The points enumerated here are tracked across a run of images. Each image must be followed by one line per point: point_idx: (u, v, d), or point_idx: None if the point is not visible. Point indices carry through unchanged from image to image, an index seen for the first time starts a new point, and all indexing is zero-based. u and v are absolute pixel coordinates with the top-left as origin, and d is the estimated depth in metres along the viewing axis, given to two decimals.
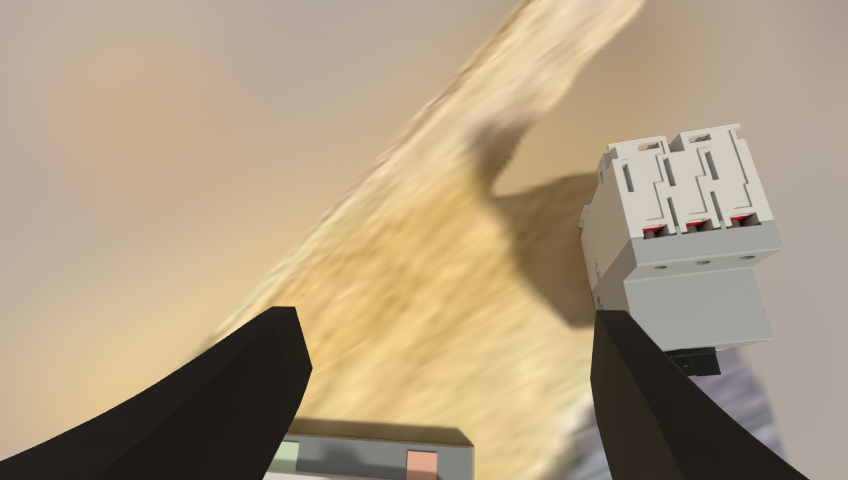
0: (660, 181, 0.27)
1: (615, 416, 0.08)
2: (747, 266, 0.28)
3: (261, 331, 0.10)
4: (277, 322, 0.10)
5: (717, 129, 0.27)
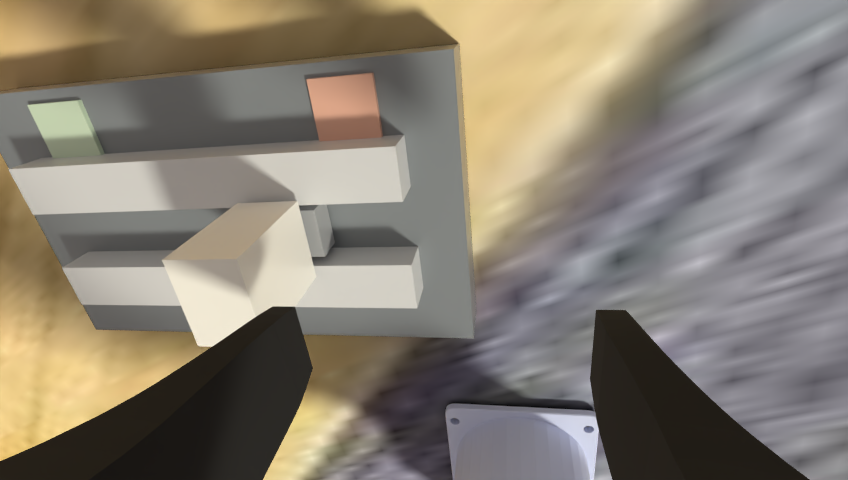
0: None
1: (615, 416, 0.08)
2: None
3: (261, 331, 0.10)
4: (277, 322, 0.10)
5: None
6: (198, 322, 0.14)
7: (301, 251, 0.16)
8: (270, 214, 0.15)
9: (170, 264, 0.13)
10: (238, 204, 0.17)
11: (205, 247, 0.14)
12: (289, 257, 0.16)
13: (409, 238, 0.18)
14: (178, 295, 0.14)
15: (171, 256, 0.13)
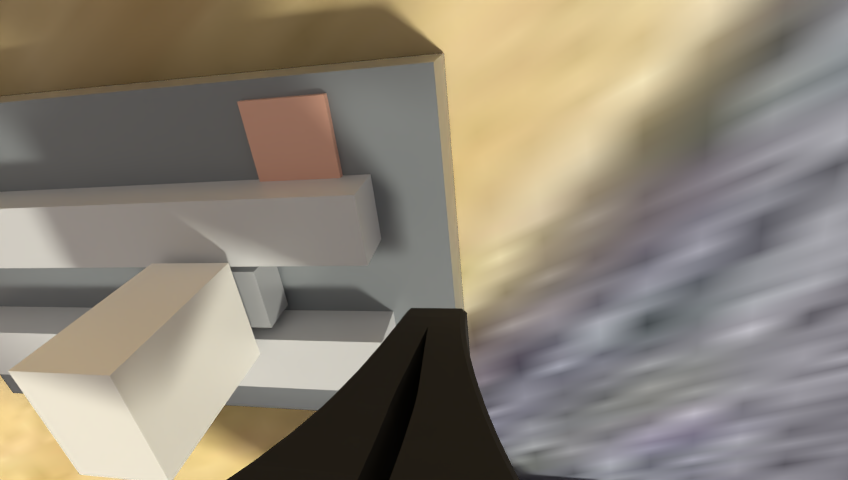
0: None
1: None
2: None
3: (420, 335, 0.09)
4: (429, 325, 0.10)
5: None
6: (74, 447, 0.10)
7: (234, 328, 0.12)
8: (186, 286, 0.11)
9: (20, 377, 0.09)
10: (152, 265, 0.13)
11: (77, 347, 0.10)
12: (213, 342, 0.12)
13: (381, 301, 0.14)
14: (40, 414, 0.10)
15: (24, 363, 0.09)
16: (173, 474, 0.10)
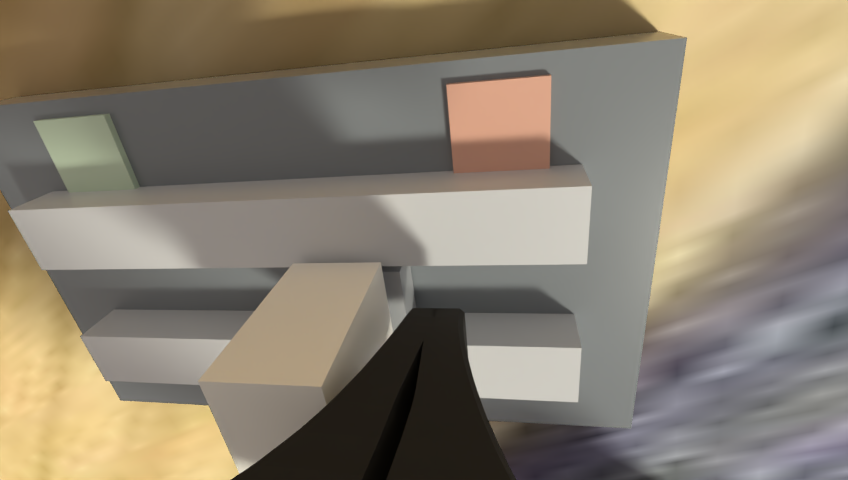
0: None
1: None
2: None
3: (423, 335, 0.09)
4: (432, 325, 0.10)
5: None
6: (250, 463, 0.09)
7: (385, 332, 0.12)
8: (348, 287, 0.11)
9: (211, 387, 0.08)
10: (295, 265, 0.12)
11: (263, 355, 0.09)
12: (374, 348, 0.11)
13: (563, 302, 0.13)
14: (221, 428, 0.09)
15: (212, 373, 0.08)
16: None
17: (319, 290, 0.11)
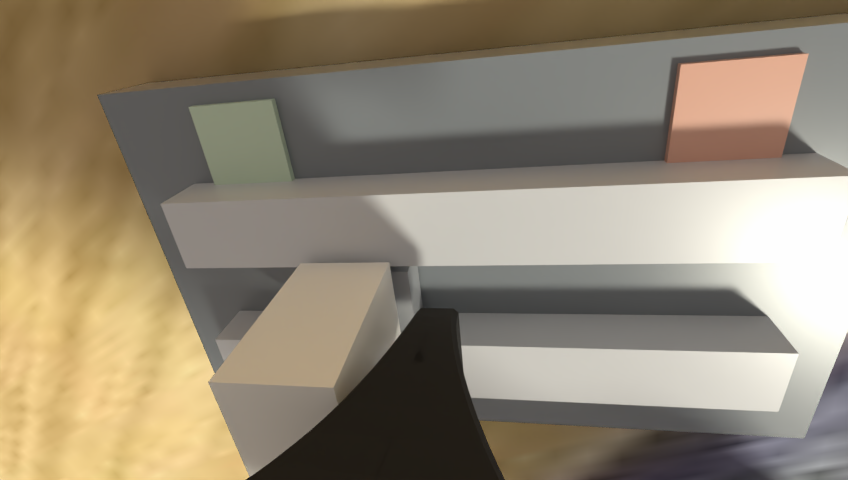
0: None
1: None
2: None
3: (432, 335, 0.09)
4: (440, 325, 0.10)
5: None
6: (260, 464, 0.09)
7: (393, 333, 0.12)
8: (357, 287, 0.10)
9: (222, 388, 0.08)
10: (302, 265, 0.12)
11: (274, 355, 0.09)
12: (383, 348, 0.11)
13: (758, 304, 0.12)
14: (231, 429, 0.09)
15: (222, 374, 0.08)
16: None
17: (328, 290, 0.10)
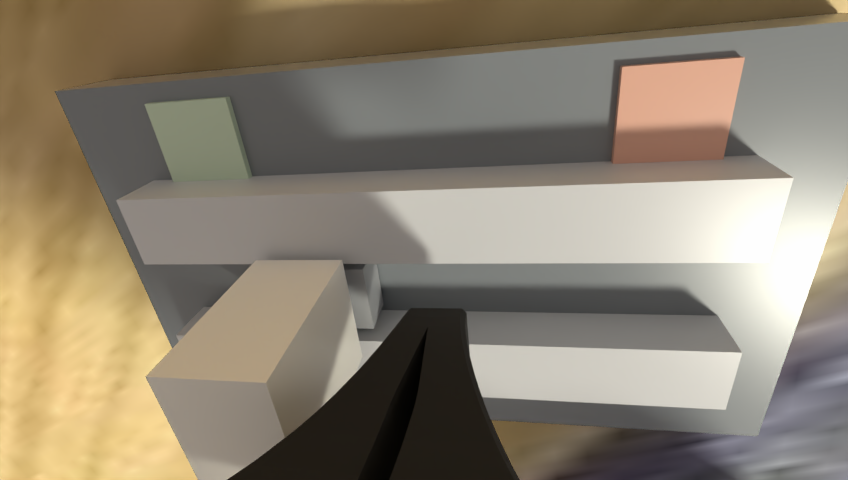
0: None
1: None
2: None
3: (420, 335, 0.09)
4: (429, 325, 0.10)
5: None
6: (202, 458, 0.09)
7: (346, 329, 0.12)
8: (306, 284, 0.11)
9: (159, 383, 0.08)
10: (257, 262, 0.12)
11: (214, 351, 0.09)
12: (333, 345, 0.11)
13: (707, 303, 0.12)
14: (172, 424, 0.09)
15: (161, 369, 0.08)
16: None
17: (278, 287, 0.11)
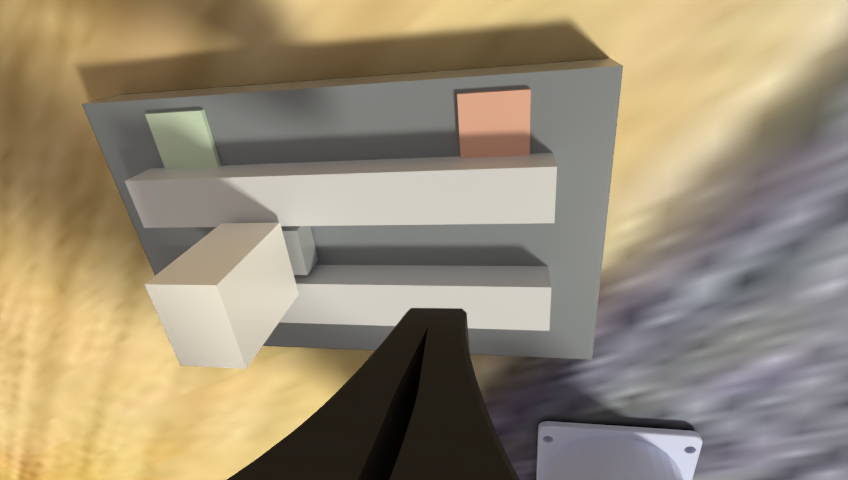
0: None
1: None
2: None
3: (420, 335, 0.09)
4: (429, 325, 0.10)
5: None
6: (180, 343, 0.14)
7: (283, 271, 0.17)
8: (252, 236, 0.16)
9: (152, 288, 0.14)
10: (222, 224, 0.17)
11: (187, 271, 0.14)
12: (271, 278, 0.16)
13: (539, 257, 0.18)
14: (160, 317, 0.14)
15: (153, 280, 0.14)
16: (248, 363, 0.15)
17: (233, 238, 0.16)
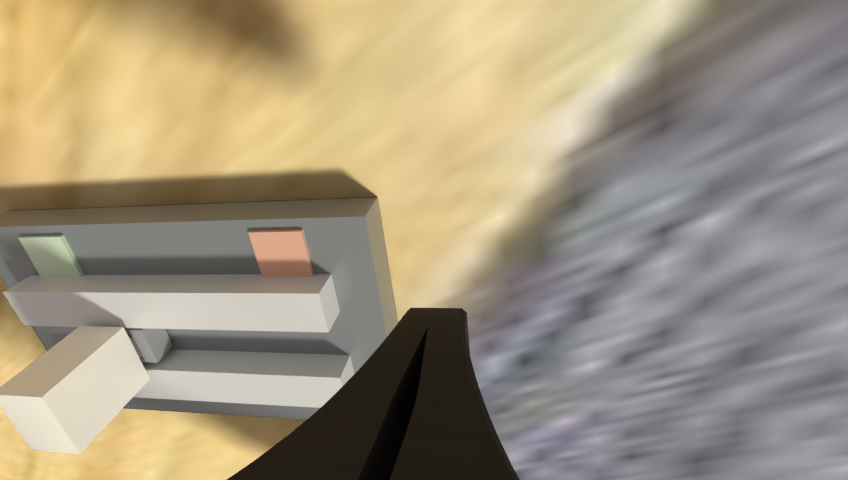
0: None
1: None
2: None
3: (420, 335, 0.09)
4: (429, 325, 0.10)
5: None
6: (27, 434, 0.19)
7: (128, 365, 0.21)
8: (94, 343, 0.20)
9: None
10: (79, 327, 0.21)
11: (28, 381, 0.18)
12: (111, 375, 0.20)
13: (342, 348, 0.22)
14: (8, 416, 0.18)
15: None
16: (82, 449, 0.19)
17: (79, 344, 0.20)
